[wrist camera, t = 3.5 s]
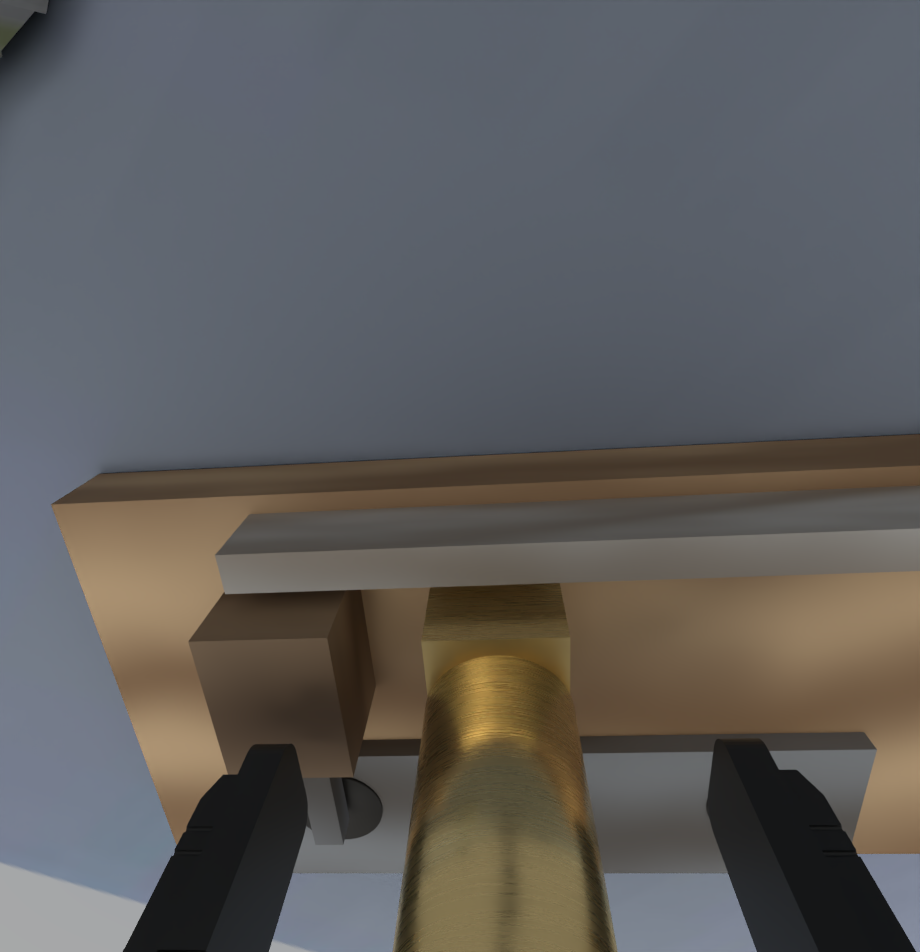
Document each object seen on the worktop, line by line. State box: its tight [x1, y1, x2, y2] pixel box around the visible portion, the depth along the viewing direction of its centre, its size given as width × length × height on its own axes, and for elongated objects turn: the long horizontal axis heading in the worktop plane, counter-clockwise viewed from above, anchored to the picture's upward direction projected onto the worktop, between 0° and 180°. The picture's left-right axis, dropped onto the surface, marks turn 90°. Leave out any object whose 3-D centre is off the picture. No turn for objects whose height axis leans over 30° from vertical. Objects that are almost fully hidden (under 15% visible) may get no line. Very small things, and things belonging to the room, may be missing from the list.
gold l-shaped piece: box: [393, 583, 617, 952], centre depth 12 cm, size 8×3×9 cm, turn 4°
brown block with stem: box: [188, 590, 376, 845], centre depth 15 cm, size 8×3×3 cm, turn 4°
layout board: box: [51, 434, 920, 873], centre depth 16 cm, size 13×28×4 cm, turn 94°
